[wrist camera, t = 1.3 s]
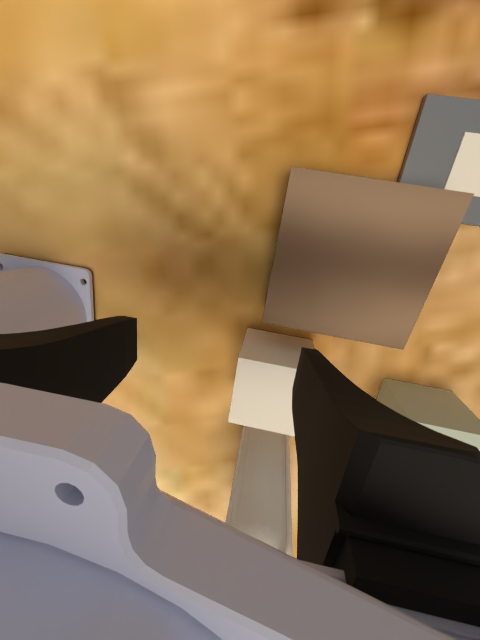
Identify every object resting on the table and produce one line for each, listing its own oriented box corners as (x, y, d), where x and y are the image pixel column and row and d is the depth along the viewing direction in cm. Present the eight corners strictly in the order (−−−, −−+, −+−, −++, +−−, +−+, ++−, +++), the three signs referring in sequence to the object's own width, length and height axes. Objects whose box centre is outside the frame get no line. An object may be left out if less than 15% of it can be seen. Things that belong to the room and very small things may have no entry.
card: (522, 232, 17) (530, 233, 17) (387, 212, 18) (391, 212, 17) (579, 115, 15) (590, 111, 14) (423, 97, 16) (428, 93, 15)
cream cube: (297, 393, 23) (301, 438, 19) (238, 381, 24) (228, 422, 19) (312, 339, 22) (320, 373, 17) (247, 327, 22) (238, 357, 17)
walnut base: (387, 328, 20) (403, 349, 18) (264, 305, 21) (261, 322, 18) (443, 193, 17) (474, 193, 14) (290, 170, 17) (291, 166, 15)
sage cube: (426, 441, 23) (462, 497, 19) (364, 428, 24) (384, 479, 19) (451, 390, 21) (498, 438, 17) (383, 377, 22) (411, 420, 17)
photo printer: (284, 501, 28) (285, 704, 16) (240, 495, 28) (212, 687, 17) (292, 414, 24) (300, 596, 13) (241, 409, 25) (207, 579, 13)
